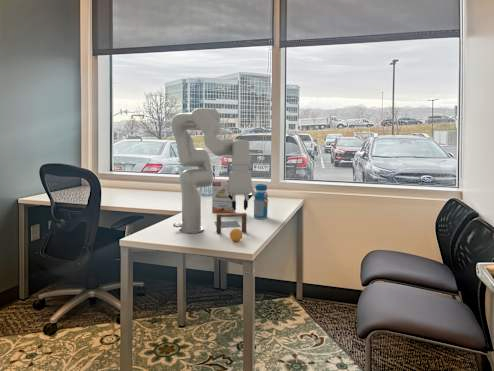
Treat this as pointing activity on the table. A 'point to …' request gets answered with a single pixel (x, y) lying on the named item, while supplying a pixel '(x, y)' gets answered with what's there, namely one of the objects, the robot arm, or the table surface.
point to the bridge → (219, 215)
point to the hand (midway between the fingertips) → (239, 209)
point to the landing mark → (229, 224)
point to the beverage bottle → (260, 202)
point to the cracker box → (221, 197)
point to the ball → (236, 234)
